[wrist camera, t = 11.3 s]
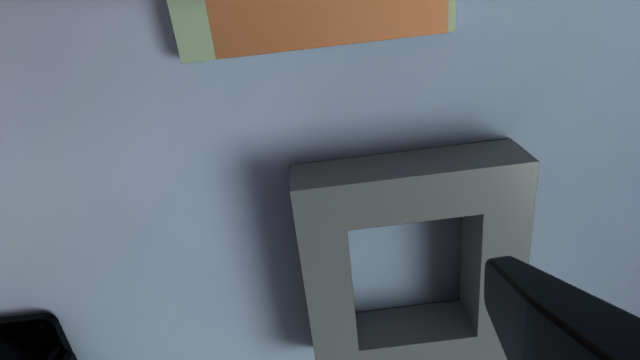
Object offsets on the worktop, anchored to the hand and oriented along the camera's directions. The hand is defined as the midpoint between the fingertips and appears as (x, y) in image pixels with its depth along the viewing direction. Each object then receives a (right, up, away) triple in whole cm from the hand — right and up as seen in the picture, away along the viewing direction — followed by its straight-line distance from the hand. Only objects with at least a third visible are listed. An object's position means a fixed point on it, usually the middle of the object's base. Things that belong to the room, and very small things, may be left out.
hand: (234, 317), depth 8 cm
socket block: (+5, -1, +14) cm, 15 cm away
